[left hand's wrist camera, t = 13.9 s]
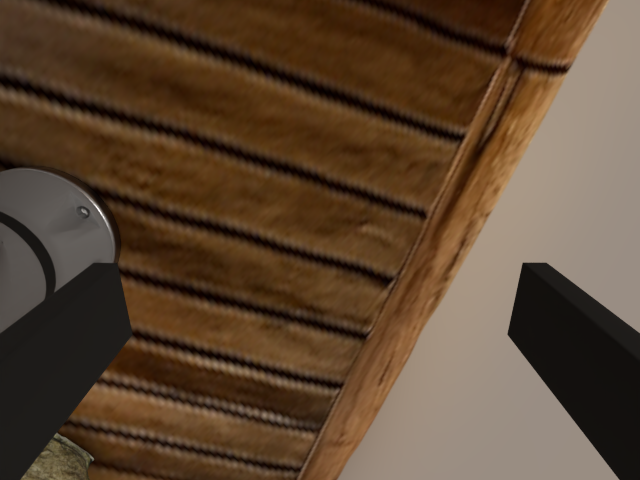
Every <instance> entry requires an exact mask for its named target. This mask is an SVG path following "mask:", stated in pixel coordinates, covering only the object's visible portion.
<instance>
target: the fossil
mask: <svg viewBox="0 0 640 480" xmlns="http://www.w3.org/2000/svg"><path fill="white" fill-rule="evenodd" d="M93 460H94V458H93V457H92V456H91V455H90V454H89V453H88V452H86V451H84V450H83V449H81V448H80V447H79V446H77V445H76V444H74V443H73V442H71V441H70V440H68V439H67V438H65V437H62V436H60V435H59V434H58V433H56V434H55V436H54V437H53V438H52V439H51V441H50V442H49V443H48V445H47V446H46V447H45V449H44V450H43V451H42V452H41V454H40V455H39V456H38V458H37V459H36V460H35V461H34V463H33V464H32V465H31V467H30V468H29V469H28V471H27V472H26V473H25V474H24V476H23V477H22V478H21V480H90V479H89V476H88V472H87V470H88V468H89V465H90V464H91V462H92V461H93Z"/></svg>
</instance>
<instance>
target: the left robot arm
mask: <svg viewBox="0 0 640 480" xmlns="http://www.w3.org/2000/svg"><path fill="white" fill-rule="evenodd" d="M120 248H121V243H120V235H119V230H118V227H117V224H116V222H115V219H114V217H113V215H112V213H111V212H110V210H109V208H108V207H107V205H106V204H105V203H104V201H103V200H102V199H101V198H100V197H99V196H98V195H97V194H96V193H95V192H94V191H93V190H92V189H91V188H90V187H88V186H87V185H86V184H84V183H83V182H82V181H80V180H78V179H77V178H75V177H73V176H71V175H69V174H67V173H65V172H62V171H59V170H56V169H53V168H48V167H42V166H24V167H18V168H14V169H10V170H6V171H3V172H0V480H21V478H22V477H23V476H24V474H25V473H26V472H27V471H28V469H29V468H30V467H31V465H32V464H33V463H34V461H35V460H36V459H37V458H38V456H39V455H40V454H41V452H42V451H43V450H44V449H45V447H46V446H47V445H48V443H49V442H50V441H51V439H52V438H53V437H54V436H55V434H56V433H57V432H58V430H59V429H60V428H61V426H62V425H63V424H64V423H65V421H66V420H67V419H68V417H69V416H70V415H71V414H72V412H73V411H74V410H75V408H76V407H77V406H78V404H79V403H80V402H81V401H82V399H83V398H84V397H85V395H86V394H87V393H88V391H89V390H90V389H91V388H92V386H93V385H94V384H95V382H96V381H97V380H98V379H99V377H100V376H101V375H102V373H103V372H104V371H105V369H106V368H107V367H108V366H109V364H110V363H111V362H112V360H113V359H114V358H115V356H116V355H117V354H118V353H119V351H120V350H121V349H122V347H123V346H124V345H125V343H126V342H127V341H128V340H129V338H130V337H131V336H132V330H131V325H130V320H129V316H128V311H127V306H126V302H125V297H124V292H123V288H122V283H121V278H120V274H119V269H118V264H117V263H118V260H119V256H120ZM508 336H509V337H510V338H511V340H512V341H513V342H514V343H515V345H516V346H517V347H518V349H519V350H520V351H521V353H522V354H523V355H524V356H525V358H526V359H527V360H528V362H529V363H530V364H531V366H532V367H533V368H534V369H535V371H536V372H537V373H538V375H539V376H540V377H541V379H542V380H543V381H544V382H545V384H546V385H547V386H548V388H549V389H550V390H551V391H552V393H553V394H554V395H555V397H556V398H557V399H558V400H559V402H560V403H561V404H562V406H563V407H564V408H565V410H566V411H567V412H568V414H569V415H570V416H571V417H572V419H573V420H574V421H575V423H576V424H577V425H578V426H579V428H580V429H581V430H582V432H583V433H584V434H585V436H586V437H587V438H588V439H589V441H590V442H591V443H592V445H593V446H594V447H595V448H596V450H597V451H598V452H599V454H600V455H601V456H602V458H603V459H604V460H605V461H606V463H607V464H608V465H609V467H610V468H611V469H612V471H613V472H614V473H615V474H616V476H617V477H618V478H619V480H640V333H639V332H637V331H636V330H635V329H633V328H632V327H631V326H629V325H628V324H627V323H625V322H624V321H623V320H621V319H620V318H619V317H617V316H616V315H615V314H613V313H612V312H611V311H609V310H608V309H607V308H606V307H604V306H603V305H602V304H600V303H599V302H598V301H596V300H595V299H594V298H592V297H591V296H590V295H588V294H587V293H586V292H584V291H583V290H582V289H580V288H579V287H578V286H576V285H575V284H574V283H573V282H571V281H570V280H569V279H567V278H566V277H565V276H563V275H562V274H561V273H559V272H558V271H557V270H555V269H554V268H553V267H551V266H550V265H549V264H547V263H523V264H522V269H521V274H520V278H519V283H518V288H517V292H516V297H515V302H514V306H513V311H512V316H511V321H510V325H509V330H508Z"/></svg>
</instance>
